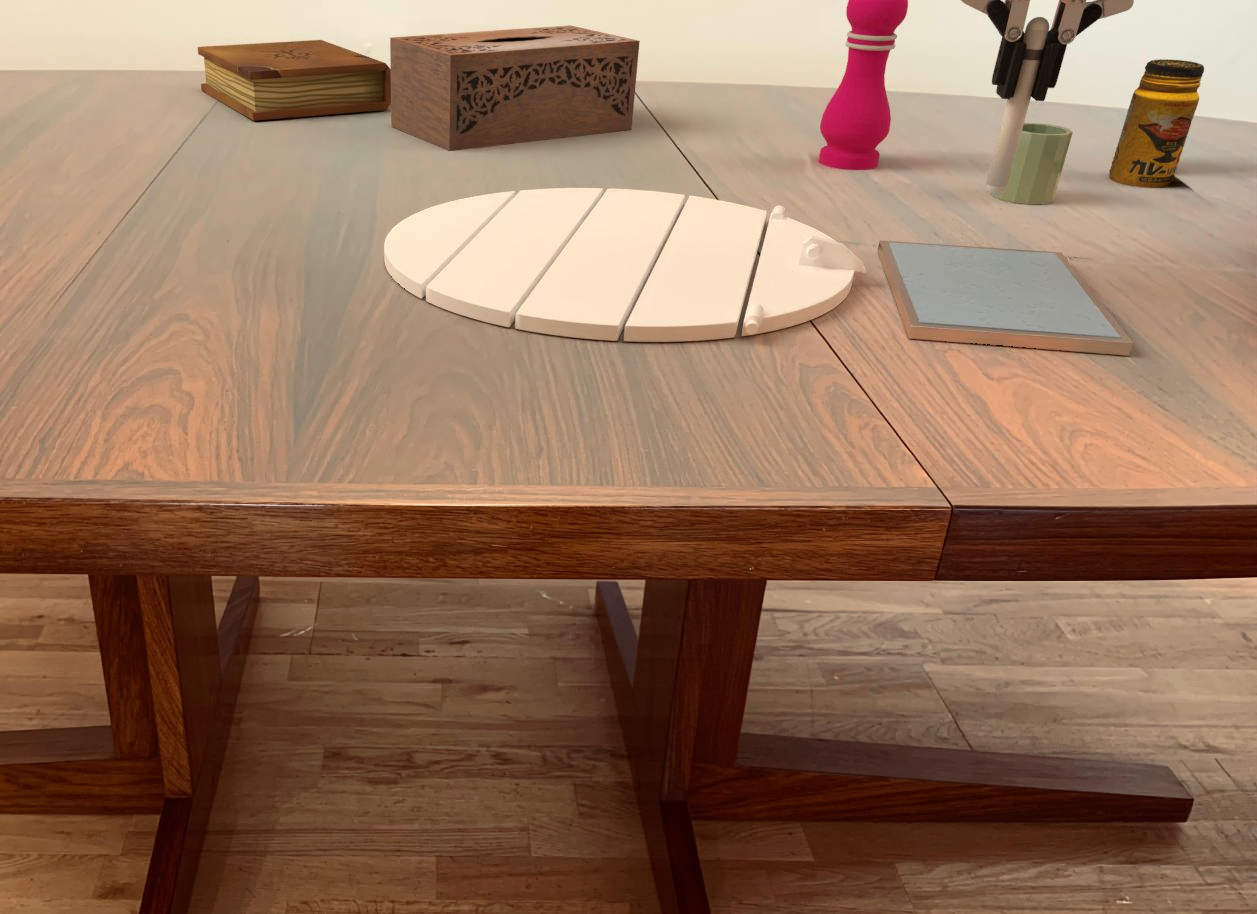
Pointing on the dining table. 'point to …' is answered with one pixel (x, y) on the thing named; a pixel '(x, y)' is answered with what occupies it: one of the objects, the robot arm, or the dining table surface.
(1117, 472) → the dining table surface
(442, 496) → the dining table surface
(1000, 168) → the stylus
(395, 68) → the tissue box cover
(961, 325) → the tablet
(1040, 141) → the pen pot
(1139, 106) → the condiment
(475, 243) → the round wooden slat board
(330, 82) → the diary
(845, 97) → the pepper mill
